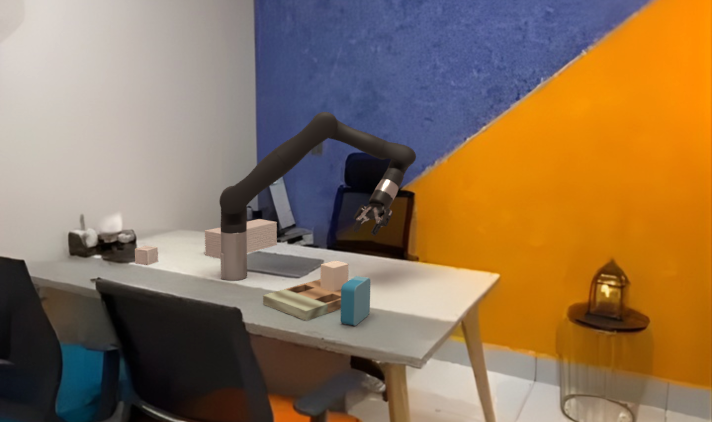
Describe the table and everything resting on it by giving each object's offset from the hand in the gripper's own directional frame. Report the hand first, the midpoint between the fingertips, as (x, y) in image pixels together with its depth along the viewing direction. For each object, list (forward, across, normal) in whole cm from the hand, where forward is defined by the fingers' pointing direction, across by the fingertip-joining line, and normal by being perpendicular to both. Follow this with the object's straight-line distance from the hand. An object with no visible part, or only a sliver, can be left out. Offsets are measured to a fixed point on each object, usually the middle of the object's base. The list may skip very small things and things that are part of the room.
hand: (363, 232), depth 203 cm
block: (+22, 0, 0) cm, 22 cm away
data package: (+32, +19, -5) cm, 37 cm away
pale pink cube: (+39, -79, -19) cm, 90 cm away
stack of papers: (+14, -71, +11) cm, 73 cm away
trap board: (+30, 0, -5) cm, 30 cm away
